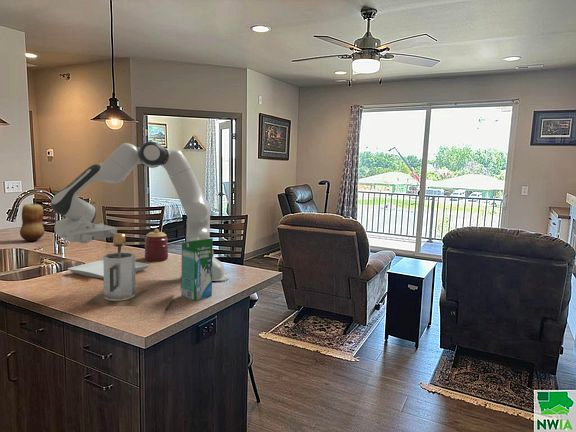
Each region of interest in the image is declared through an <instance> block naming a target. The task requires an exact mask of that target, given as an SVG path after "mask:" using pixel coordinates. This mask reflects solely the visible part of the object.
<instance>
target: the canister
mask: <svg viewBox="0 0 576 432" xmlns="http://www.w3.org/2000/svg"><path fill="white" fill-rule="evenodd" d="M145 236H146V237H145V238H144V241H145V243H144V260H146V261H149V262H162V261H166V260H168V258H169V243H168V240H169V238H168V237H167V234H166V233H165V232H163V231H160V230H159V229H158V228H155V229H154V230H153V231H150V232H148V233H146V235H145Z"/></svg>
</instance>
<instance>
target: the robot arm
mask: <svg viewBox="0 0 576 432" xmlns="http://www.w3.org/2000/svg"><path fill="white" fill-rule="evenodd" d="M138 165H141V166H144V167H146V168H151V169H154V168H158V167H160V166H161V167H162V168H163V169H165V171H166V172H167V175H168V177H169V179H170V181H171V183H172V185H173V187H174V190H175V191H176V194H177V196H178V198H179V201H180V204H181V207H182V209H183V211H184V213H185V215H186V218H187V220H186V235H185V236H186V238H185V242H190V239H191V238H197V237H199V240H203V239H210V238H211V237H210V236H211V235H210V234H211V233H210V232H211V231H210V230H211V226H210V225H211V206H210V203H209V201H208V199H206V197H205V195H204V193H203V189H202V188H201V185H200V183H199V181H198V179H197V177H196V175H195V173H194V171H193V168H192V167H191V165H190V163H189V161H188V159H187V157H186V156H185V154H183V152H182V151H181V150H180V149H171V150H168V149H166V148H165V147H164V146H162V145H161V144H160V143H158V142H155V141H147V142H144V143H143V144H142V145H141V146H140V147H137V146H136V145H134V144H132V143H129V142H124V143H122V144H120V146H118V147H117V148H116V149H114V150H113V152H112V153H110V155H109V156H108V157H107V158H106V159H105V160H104V161H103V162H101V163H99V164H92V165H91V166H89V167H87V168H86V169H85V170H84V171H83V172H81V173H80V174H79V175H78V176H77V177H76V178H75V179H74V180H72V181H71V182H70V183H69V184H68V185H67V186H66V187H64V188H63V189H61V190H60V191H58V192H56V193H55V194H54V196H53V197H52V198H51V200H50V205H51V209H52V211H53V212H54V213H56V214H58V215H60V216H63V217H65V218H62V219H59V220H57V221H56V222H55V225H54V231H55V234H56V235H57V236H58V237H60V238H61V239H64V240H65V241H67V242H70V243H76V242H77V243H80V244H87V243H90V242H92V241H95V240H101V239H106V238H113V234H118V229H117V227H115V226H113V225H112V226H111V225H106V224H104V223H102V222H95V220H96V218H97V209H96V207H95V206H94V205H93V204H91V203H90V202H87V201H86V200H84V199H82V198H80V197H78V196H77V195H79V194H80V193H81V192H82V191H83V190H84V189H85V188H86V187H88V186H89V185H90V184H92V183H94V182H104V183H108V184H120V183H121V182H123V181H125V179H127V177H128V176H129V175H130V173H131V172H132V171H133V169H134V168H135V167H137V166H138ZM214 254H215V253H214V250H213V251H212V281H221V282H225V281H224V280H226V279H228V277H229V278H230V273H228V272H226V271H225V266H224V264H223V262H221V261H220V260H219V259H218V258H216V257H215V256H214ZM228 280H229V279H228ZM226 281H227V280H226Z"/></svg>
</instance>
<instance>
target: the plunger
mask: <svg viewBox="0 0 576 432" xmlns="http://www.w3.org/2000/svg"><path fill="white" fill-rule="evenodd" d="M112 240H113V241H112V244H113V245H112V246H113V247H117V253H118V258H121V253H122V247H125V246H126V233H117V234H113V237H112Z"/></svg>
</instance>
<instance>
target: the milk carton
mask: <svg viewBox="0 0 576 432" xmlns="http://www.w3.org/2000/svg"><path fill="white" fill-rule="evenodd" d="M213 239H214V238H213V237H210V239H203V240H199V237H197V238H191V239H190V242H186V241H184V242H181V282H180V283H181V285H180V286H181V290H180V292H181V293H180V294H181V296H182V297H183V298H186V299H189V300H191V301H194V302H195V301H199V300H202V298H203V299H206V298H209V296H210V297H212V295H213V292H212V291H213V289H212V288H213V282H212V251H213V252H214V249H213V247H214V246H213V243H214V241H213ZM205 297H206V298H205Z"/></svg>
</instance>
